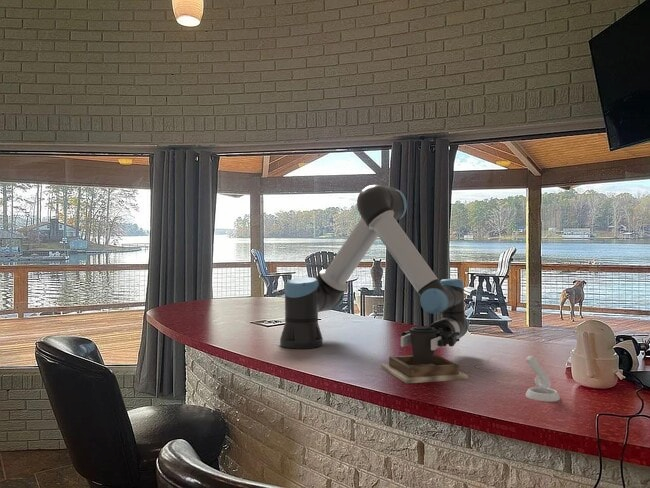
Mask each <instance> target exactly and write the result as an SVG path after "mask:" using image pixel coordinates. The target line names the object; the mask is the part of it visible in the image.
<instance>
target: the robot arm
mask: <svg viewBox="0 0 650 488" xmlns="http://www.w3.org/2000/svg"><path fill="white" fill-rule="evenodd" d="M356 199H357V200H356V207H357V211H358V213H359V215H360V219H359V221H358V222H357V224H356V225H355V227H354V228H353V230H352V232H351V233H350V234H349V236H348V237H347V239H346V240H345V241H344V243H343V245H342V246H341V247H340V249H339V251H338V252H336V253H337V254H336V255H335V256H334V258H333V259H332V261H331V263H330V264H329V265H328V266H327V268H326V269H325V268H324V269H321V270H320V271H319V273H318V274H317V276H316V277H311V276H310V277H309V276H307V277H297V278H291V279H289V280H287V282H286V283H285V287H284V288H285V289H284V316H285V317H284V325H283V328H282V331H281V335H280V339H279V345H280V346H281V347H282V348H287V349H296V350H297V349H298V350H299V349H301V350H303V349H304V350H305V349H315V348H319V347H322V346H323V345H324V342H323V341H324V339H323V335H322V331H321V329H320V325H319V313H320V312H326V311H327V312H328V311H332V310H334V309H337V307H339V306H340V305H341V304H342V303H343V301H344V298H345V291H346V290H347V288H348V286H347V281H348V280H349V278H350V277H351V275H352V274H353V273H354V272H355V270H356V268H357V267H358V266H359V264H360V263H361V261H362V260H363V259H364V257H365V256H366V254H367V253H368V251H369V250H370V248H371V247H372V246H373V245H374V243H375V241H376V240H377V239H378V237H379V239H380V240H381V242H382V244H383V245H384V246H385V248H386V249H387V251H388V252H389V254H390V255H391V256H392V258H393V260H394V261H395V262H396V264H397V265H398V267H399V268H400V269H401V271H402V272H403V274H404V275H405V277H406V278H407V280H408V281H409V282H410V284H411V285H412V287H413V288H414V290H415V291H416V292H417V294H418V295H419V299H420V301H419V302H420V306H421V308H422V309H423V311H425V313H429V314H434V315H435V314H440V319H438V320H436V321H434V322H432V323H431V324H430V326H429V327H432V328H435V329H437V331H438V332H436V338H434V339H432V340H431V350H434V351H436V350H437V349H439V348H441V347H447V345H448V346H449V347H454V346H455V345H456V343H457V342H460V339H461V338H463V337H464V336H465V335H466V334H467V333H468V331H469V327H470V323H469V321H468V318H466V313H465V312H466V311H465V310H466V309H465V288H464V282H463V280H462V279H460V278H445V279H443V278H442V279H441V280H439V279H438V277H437V275H436V274H435V273H434V271H433V270H432V268H431V267H430V266H429V264H428V263H427V262H426V260H425V259H424V258H423V256H422V255H421V253H420V252H419V251H418V249H417V248H416V246H415V245H414V243H413V242H412V240H410V238H409V236H408V235H407V234H406V232H405V231H404V229H403V228H402V227H401V225H400V224H399V222H398V221H399V220H400V219H402V218H403V217H404V216H405V214H406V211H407V207H408V203H407V199H406V197H405V195H404V193H403V192H402V191H400V189H397V188H395V187H393V186H384V185H380V184H371V185H367V186H366V187H364V188H363V189H361V191H360V192H359V194H358V197H357V198H356ZM410 345H412V343H411V334H410V331H409V330H406V331H403V332H401V336H400V347H401V348H404V347H407V346H410Z"/></svg>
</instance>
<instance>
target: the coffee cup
mask: <svg viewBox="0 0 650 488" xmlns="http://www.w3.org/2000/svg"><path fill="white" fill-rule="evenodd" d="M408 331H410V334H411V351H412V355H413V361H414V363H417V364H432V363H433V357H434V354H435V350H431V340H432V339H434V338H436V332H438V331H437V329H435V328H432V327H430V326H428V325H426V326H425V325H416V326H414V327H410V328H409V329H408Z"/></svg>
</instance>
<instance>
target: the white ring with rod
mask: <svg viewBox="0 0 650 488" xmlns="http://www.w3.org/2000/svg"><path fill="white" fill-rule="evenodd" d="M525 360H526V362H527V363H528V365H529V367H530V368H531V369H532V371H533V372H534V373H535V375H536V376H535V378H534V383H535V386H531V387H528V389H527V391H526V392H525V397H526V398H528V399H530V400H533V401H539V402H547V403H549V402H551V403H552V402H557V401H560V400H561V397H560V395H559V393H558V391H557V390H555V389H553V388H551V386H552V381H551V379H550V377H549V376H548V374H547V373H546V371H545V370H544V368H543V367H542V366H541V365H540V364H539V361H538V360H537V359H536V358H535V357H534V356H532V355H528V356H526V358H525Z"/></svg>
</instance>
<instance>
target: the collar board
mask: <svg viewBox="0 0 650 488" xmlns="http://www.w3.org/2000/svg"><path fill="white" fill-rule="evenodd" d="M388 358H389V359H388V363H381V364H380V368H381V369H382V370H384V371H385V372H387V373H388V374H390V375H392V376H393V377H395V378H396V379H398V380H399V381H401V382H403V383H405V384H417V383H420V384H421V383H422V384H423V383H432V382H433V383H435V382H436V383H437V382H447V381H459V380H469V375H467V374H466V373H464V372H462V371H460V369H459V368H460V367H459V364H457V363H455V362H453V361H451V360H448V359H447V358H444V357H442V356H440V355H437V354H436V353H434V357H433V363H432V364H417V363H414V361H413V354H412V355H400V356H399V355H396V356H394V355H393V356H389V357H388Z"/></svg>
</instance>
